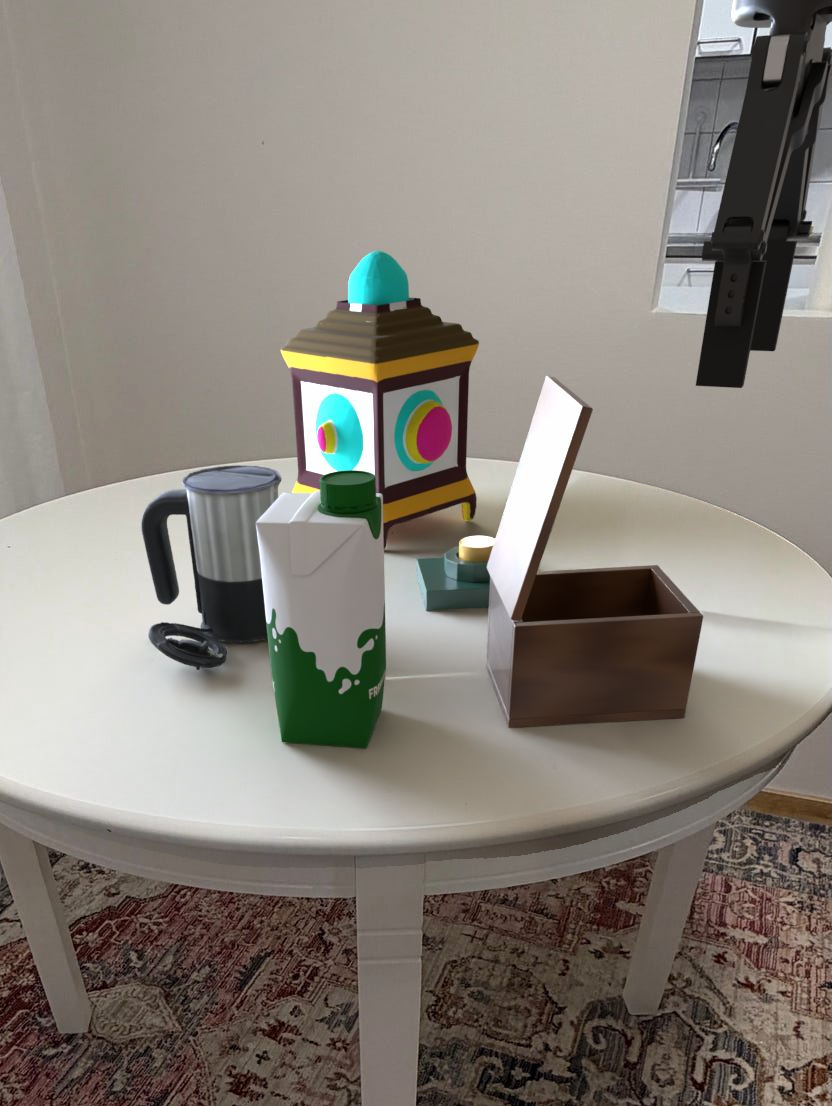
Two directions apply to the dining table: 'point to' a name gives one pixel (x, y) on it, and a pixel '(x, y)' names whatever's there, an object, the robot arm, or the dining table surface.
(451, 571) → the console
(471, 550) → the button
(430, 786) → the dining table surface
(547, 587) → the chest
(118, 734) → the dining table surface
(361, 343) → the decorative lantern
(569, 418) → the chest lid
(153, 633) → the milk frother
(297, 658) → the milk carton
